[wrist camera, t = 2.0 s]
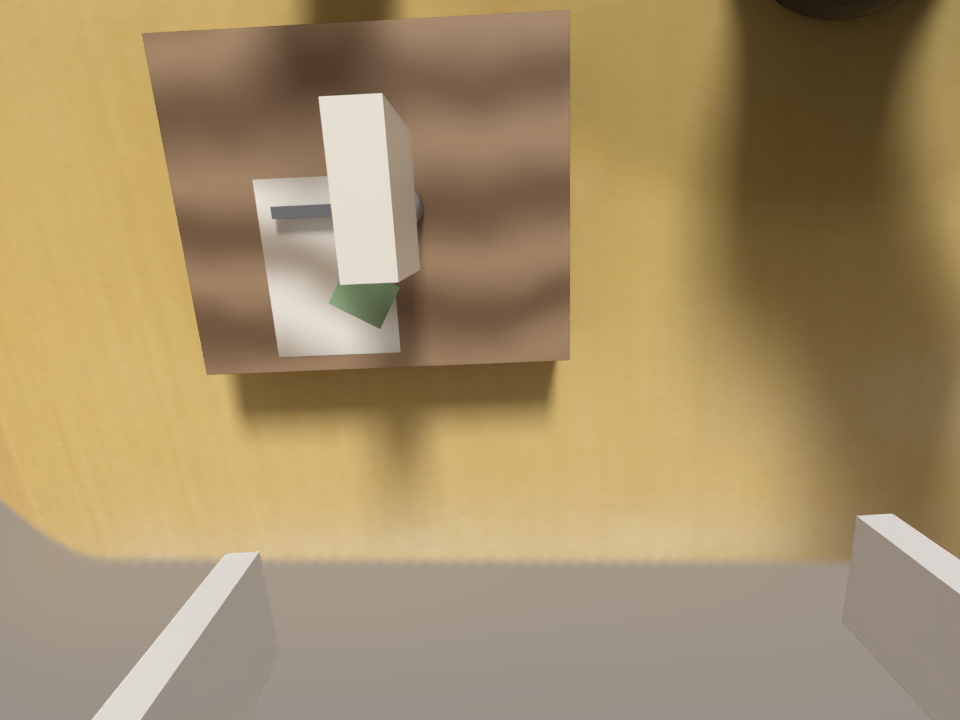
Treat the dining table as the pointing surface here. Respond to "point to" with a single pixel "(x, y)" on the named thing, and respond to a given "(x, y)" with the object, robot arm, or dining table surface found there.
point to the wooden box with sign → (437, 178)
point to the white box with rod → (367, 190)
